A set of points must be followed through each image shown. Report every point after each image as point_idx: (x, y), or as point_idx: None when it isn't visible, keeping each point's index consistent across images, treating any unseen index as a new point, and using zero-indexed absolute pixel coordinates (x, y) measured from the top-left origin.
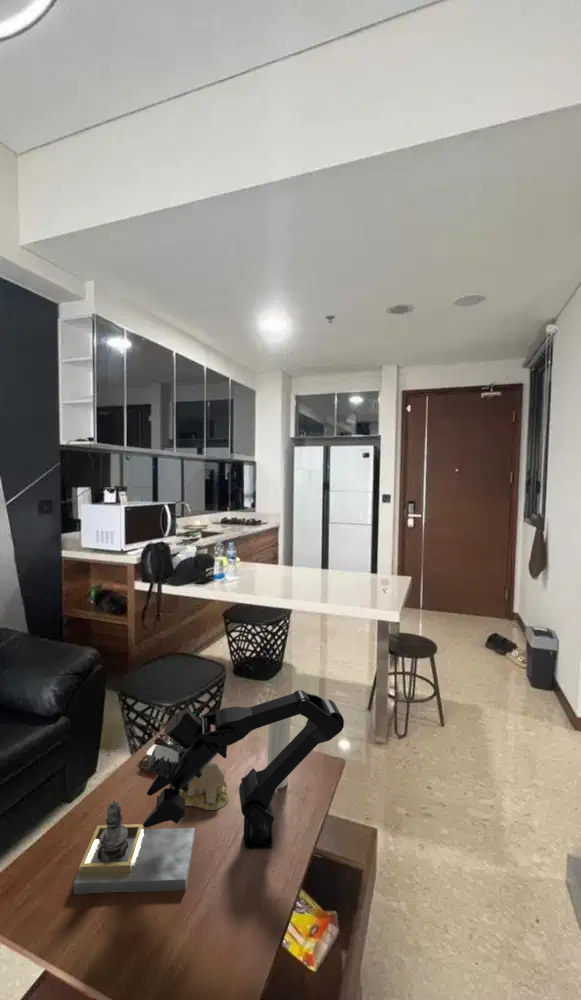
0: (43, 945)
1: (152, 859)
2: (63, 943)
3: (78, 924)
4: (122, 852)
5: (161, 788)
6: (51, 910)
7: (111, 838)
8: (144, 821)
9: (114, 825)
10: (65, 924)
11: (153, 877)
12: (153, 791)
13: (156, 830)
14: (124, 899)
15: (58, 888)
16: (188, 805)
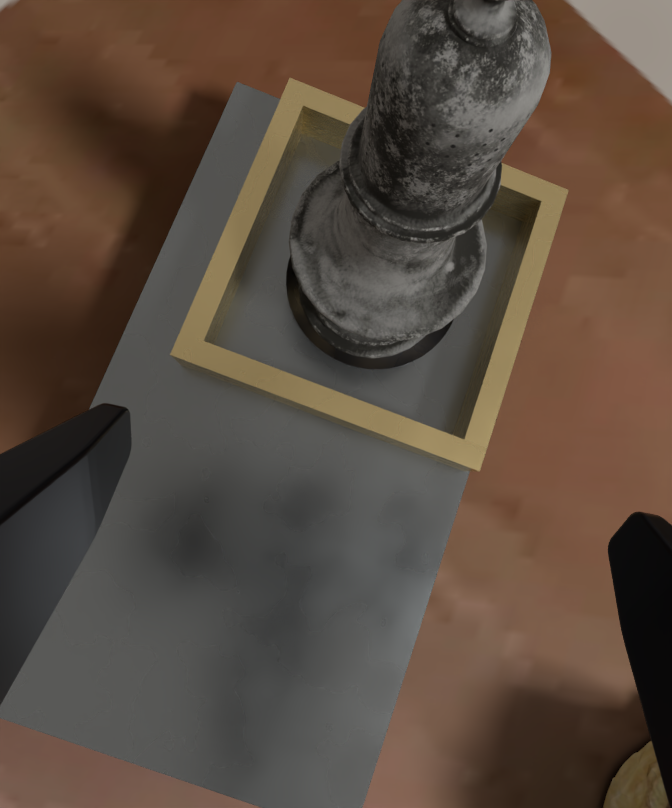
0: (47, 13)
1: (208, 504)
2: (14, 83)
3: (76, 141)
4: (328, 330)
5: (654, 738)
6: (202, 41)
7: (338, 207)
8: (102, 423)
9: (341, 159)
10: (103, 92)
11: None
12: (641, 606)
13: (427, 555)
14: (107, 343)
15: (306, 68)
16: (609, 792)
